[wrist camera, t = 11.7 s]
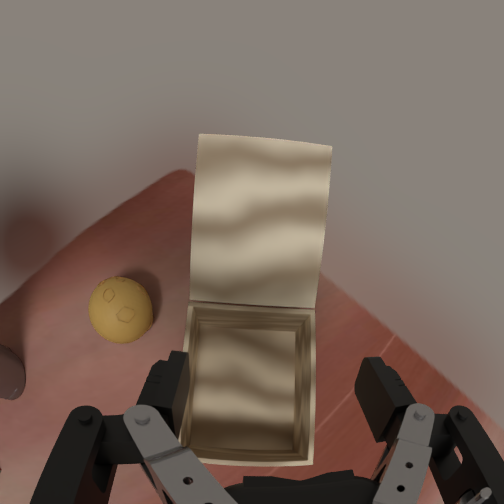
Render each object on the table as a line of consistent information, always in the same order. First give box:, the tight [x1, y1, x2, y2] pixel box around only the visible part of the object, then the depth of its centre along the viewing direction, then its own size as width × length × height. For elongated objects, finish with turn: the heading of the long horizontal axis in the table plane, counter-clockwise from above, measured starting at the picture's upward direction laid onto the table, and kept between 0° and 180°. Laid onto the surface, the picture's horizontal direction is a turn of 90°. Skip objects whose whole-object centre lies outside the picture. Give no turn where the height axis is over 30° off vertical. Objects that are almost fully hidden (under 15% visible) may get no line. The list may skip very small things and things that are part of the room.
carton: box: [178, 302, 316, 466], centre depth 36 cm, size 20×16×10 cm
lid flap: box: [190, 134, 332, 308], centre depth 35 cm, size 20×16×1 cm
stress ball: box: [88, 276, 154, 344], centre depth 40 cm, size 10×10×10 cm
